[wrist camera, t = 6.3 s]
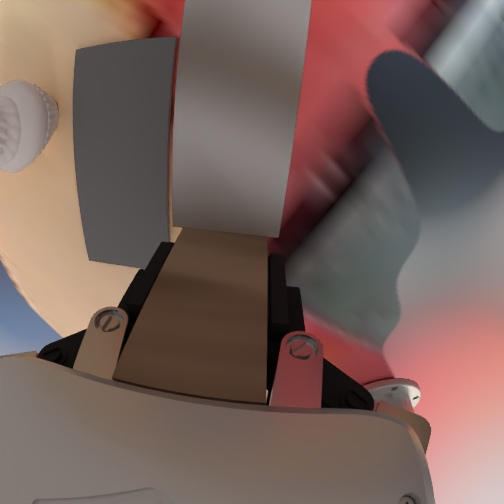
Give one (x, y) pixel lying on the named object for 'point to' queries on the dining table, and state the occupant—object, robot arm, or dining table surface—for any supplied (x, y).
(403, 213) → the dining table surface
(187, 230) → the turner
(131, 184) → the mat
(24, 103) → the muffin
